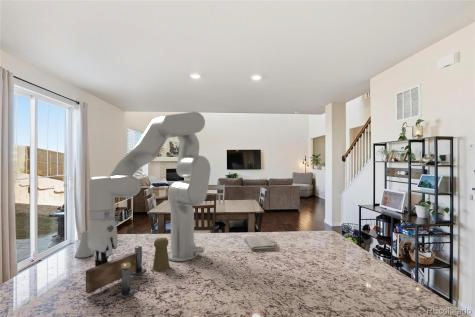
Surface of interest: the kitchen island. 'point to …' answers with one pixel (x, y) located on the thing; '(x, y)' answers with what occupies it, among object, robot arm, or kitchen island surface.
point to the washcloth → (260, 243)
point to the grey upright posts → (125, 274)
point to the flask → (84, 246)
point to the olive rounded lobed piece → (161, 255)
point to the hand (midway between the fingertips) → (101, 271)
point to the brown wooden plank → (108, 272)
